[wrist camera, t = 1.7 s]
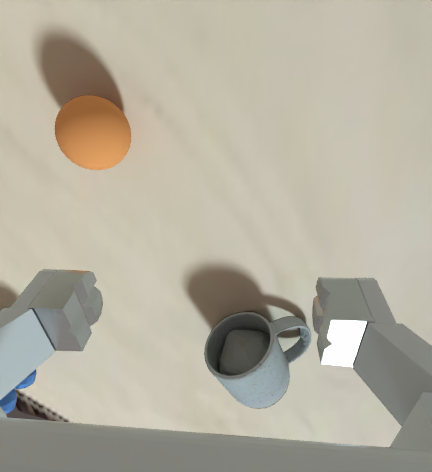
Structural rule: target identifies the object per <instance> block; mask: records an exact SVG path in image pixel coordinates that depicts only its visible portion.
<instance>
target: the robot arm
mask: <svg viewBox="0 0 432 472" xmlns="http://www.w3.org/2000/svg"><path fill="white" fill-rule="evenodd" d="M96 281H97V280H96V278H95V275H94V273H93V272H90V271H77V270H51V269H44V270H42V271H39V273H38V274H37V275H36V276H35V278H34V279H33V280H32V281H31V282H30V284H29V285H28V286H27V287H26V289H25V290H24V291H23V292H22V293H21V295H20V296H19V297H18V298H17V300H16V301H15V302H14V303H13V304H12V306H11V307H10V308H3V309H2V310H0V400H1V399H2V398H3V397H4V396H6V395H7V394H8V393H9V392H10V391H11V390H12V389H14V388H15V387H16V386H17V385H18V384H19V383H20V382H22V381H23V380H24V379H25V378H26V377H27V376H28V375H30V374H31V373H32V372H33V371H34V370H35V369H36V368H38V367H39V366H40V365H41V364H42V363H43V362H44V361H46V360H47V359H48V358H49V357H50V356H51V355H53V354H54V353H55V351H83V349H84V347H85V345H86V343H87V341H88V339H89V337H90V335H91V333H92V332H91V329H90V326H91V325H93V324H94V323H95V322H97V321H98V319H99V317H100V315H101V311H102V306H103V300H102V295H101V292H100V291H99V290H98V289H97V288H96V287H95V286H94V285H95V283H96ZM316 291H317V296H316V297H315V298H314V300H313V307H312V318H313V326H314V331H316V332H317V333H318V334H319V335H318V340H317V347H318V352H319V356H320V361H321V364H325V365H338V366H350V367H353V369H354V370H355V372H356V373H357V374H358V375H359V376H360V377H361V379H362V380H363V381H364V382H365V383H366V385H367V386H368V387H369V388H370V389H371V391H372V392H373V393H374V394H375V395H376V396H377V398H378V399H379V400H380V401H381V402H382V404H383V405H384V406H385V407H386V408H387V410H388V411H389V412H390V413H391V414H392V415H393V417H394V418H395V419H396V420H397V421H398V423H399V424H400V425H401V426H402V428H401V429H400V431H399V433H398V434H397V436H396V438H395V439H394V441H393V443H392V444H391V446H390V447H376V446H363V445H350V444H337V443H324V442H312V441H299V440H286V439H274V438H261V437H248V436H236V435H223V434H210V433H198V432H185V431H172V430H159V429H146V428H133V427H120V426H107V425H95V424H82V423H69V422H56V421H43V420H29V419H17V418H7V416H6V413H5V412H4V410H3V409H2V408H1V407H0V472H432V346H431V345H430V344H428V343H427V342H426V341H424V340H423V339H422V338H421V337H419V336H418V335H417V334H415V333H414V332H413V331H411V330H410V329H409V328H407V327H406V326H405V325H403V324H397V323H396V321H395V319H394V317H393V315H392V312H391V310H390V308H389V306H388V304H387V302H386V300H385V298H384V295H383V293H382V291H381V289H380V287H379V285H378V283H377V281H376V280H375V279H374V278H355V279H354V278H322V277H319V278H318V280H317V284H316Z"/></svg>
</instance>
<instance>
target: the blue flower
mask: <svg viewBox="0 0 432 472" xmlns="http://www.w3.org/2000/svg"><path fill="white" fill-rule="evenodd" d="M35 377H36V369H35V370H34V371H33V372H32V373H31V374H30V375H28V376H27V377H26V378H25V379H24V380H23V381H22V382H20V383H19V384H18V385H17V386H16V387H15V388H16V389H22V388H26V387H28V386H30V385H31V384H33V383H34V381H35ZM15 388H14V389H12V390H11V391H10V392H9V393H8V394H7V395H6V396H4V397H3V398H2V399H1V400H0V407H1V408H2V409H3V410H4V412H5V413H6V414H7V413H9V412H11V411H12V410H13V409H14V407H15V405H16V400H17V396H16V391H15Z"/></svg>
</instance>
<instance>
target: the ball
mask: <svg viewBox="0 0 432 472" xmlns="http://www.w3.org/2000/svg"><path fill="white" fill-rule="evenodd" d="M55 136H56V140H57V142H58V145H59V147H60V149H61V150H62V152H63V153H64V154H65V156H66V157H67V158H68V159H70V160H71V161H72V162H73V163H75V164H77V165H79V166H81V167H83V168H86V169H91V170H103V169H108V168H110V167H113V166H115V165H116V164H118V163H119V162H120V161H121V160H122V159H123V158H124V157H125V155H126V154H127V152H128V150H129V147H130V143H131V131H130V126H129V123H128V121H127V119H126V117H125V115H124V114H123V112H122V111H121V110H120V109H119V108H118V107H117V106H116V105H115V104H113V103H112V102H110V101H109V100H107V99H105V98H102V97H99V96H94V95H85V96H79V97H76V98H74V99H72V100H70V101H69V102H67V103H66V104H65V105H64V106H63V107H62V108H61V110H60V111H59V113H58V115H57V118H56V121H55Z"/></svg>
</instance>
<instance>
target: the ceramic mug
mask: <svg viewBox="0 0 432 472" xmlns="http://www.w3.org/2000/svg"><path fill="white" fill-rule="evenodd" d="M292 328H300V339H299V340H298V342H297V343H296V344H295V345H293V346H292V347H291V348H289V349H288V350H287V351H285V352H283V351H282V348H281V346H280V343H279V341H278V338H277V334H279V333H280V332H282V331H285V330H288V329H292ZM310 343H311V332H310V329H309V328H308V326H307V325H306V324H305V323H304V321H303V320H302V319H300V318H299V317H295V316H287V317H283V318H280V319H277V320H275V321H273V322H271V323H270V322H269V321H268V320H267V319H266V318H264V317H263V316H261V315H259V314H257V313H254V312H240V313H236V314H233V315H230V316H228V317H226V318H225V319H223V320H222V321H221V322H219V323H218V324H217V325H216V326H215V327H214V328H213V330H212V331H211V333H210V335H209V336H208V339H207V341H206V345H205V352H204V355H205V361H206V364H207V367H208V369H209V370H210V372H211V373H212V374H213V375H214V376H215V377H216V378H217V379H218V380H219V381H220V383H221V384H222V385H223V386H224V387H225V388H226V389H227V390H228V391H229V393H230V394H231V395H232V396H233V397H234V398H235V399H236V400H237V401H239V402H240V403H242V404H243V405H245V406H248V407H250V408H255V409H262V408H267V407H270V406H272V405H274V404H275V403H276V402H278V401H279V400H280V399H281V398H282V397H283V395H284V394H285V393H286V390H287V388H288V385H289V378H290V374H289V366H288V365H289V363H291V362H293V361H294V360H296V359H297V358H299V357H300V356H301V355H302V354H303V353H304V352H306V350H307V349H308V347H309V345H310Z"/></svg>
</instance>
